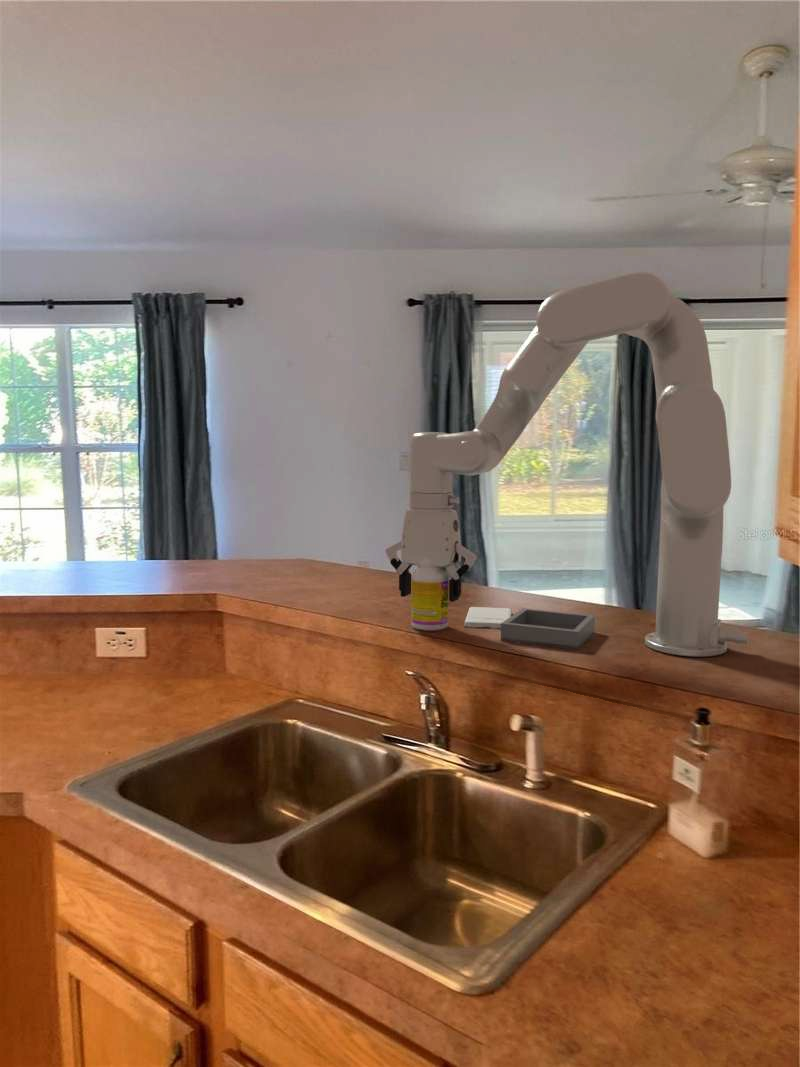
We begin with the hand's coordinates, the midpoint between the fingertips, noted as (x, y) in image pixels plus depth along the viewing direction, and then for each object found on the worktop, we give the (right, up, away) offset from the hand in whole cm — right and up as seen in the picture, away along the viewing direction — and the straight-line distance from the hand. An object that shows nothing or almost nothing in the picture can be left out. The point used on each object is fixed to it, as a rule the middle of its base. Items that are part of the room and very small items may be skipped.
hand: (429, 597), depth 140 cm
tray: (+20, -6, -6) cm, 22 cm away
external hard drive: (+11, -5, +6) cm, 14 cm away
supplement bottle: (0, -6, +1) cm, 6 cm away
